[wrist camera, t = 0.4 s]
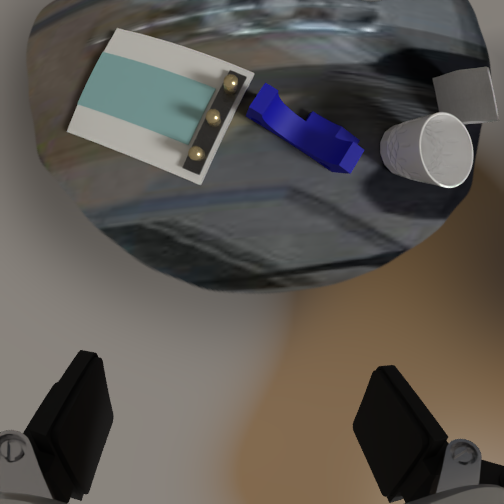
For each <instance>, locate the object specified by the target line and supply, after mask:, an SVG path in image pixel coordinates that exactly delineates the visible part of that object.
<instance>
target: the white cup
mask: <svg viewBox="0 0 504 504" xmlns="http://www.w3.org/2000/svg"><path fill="white" fill-rule="evenodd" d="M380 154H381V157H382V160H383V162H384V165H385V166H386V167H387V168H388V169H389V170H390V171H391V172H392V173H394V174H396V175H399V176H402V177H406V178H409V179H412V180H416V181H420V182H424V183H429V184H433V185H438V186H442V187H446V188H453V187H456V186H458V185H460V184H461V183H463V182H464V181H465V179H466V178H467V177H468V175H469V173H470V170H471V167H472V163H473V146H472V141H471V138H470V135H469V133H468V131H467V129H466V128H465V126H464V125H463V123H462V122H461V121H460V120H459V119H458V118H456V117H455V116H453V115H452V114H449V113H446V112H438V113H434V114H431V115H427V116H423V117H419V118H415V119H412V120H409V121H406V122H403V123H401V124H398V125H394V126H392V127H391V128H389V129H388V130H387V131H385V133H384V135H383V137H382V139H381V141H380Z"/></svg>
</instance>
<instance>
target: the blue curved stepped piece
mask: <svg viewBox="0 0 504 504" xmlns="http://www.w3.org/2000/svg"><path fill="white" fill-rule="evenodd" d="M246 117H248V118H249V119H251V120H253V121H254V122H256V123H258V124H259V125H261V126H263V127H264V128H266V129H268V130H269V131H271V132H272V133H274V134H276V135H277V136H279V137H280V138H282V139H284V140H285V141H287V142H288V143H290V144H291V145H293V146H294V147H296V148H298V149H299V150H301V151H302V152H304V153H305V154H307V155H308V156H310V157H311V158H313V159H314V160H316V161H317V162H318V163H320V164H321V165H323V166H324V167H326V168H327V169H329V170H330V171H331V172H338V173H349V174H350V173H351V172H352V170H353V168H354V167H355V165H356V163H357V162H358V160H359V158H360V157H361V155H362V153H363V152H364V149H363V148H361V147H360V146H359V145H357V144H358V143H359V141H360V140H359V139H357V138H356V137H355V136H354V135H352V134H351V133H350V132H348V131H347V130H345V129H344V128H343V127H341V126H339V125H337V124H334V123H332V122H330V121H328V120H327V119H325V118H323V117H321V116H320V115H318V114H316V113H315V112H313V111H312V112H311V113H310V114H309V115H308V117H307V118H306V120H303V119H302V118H300V117H299V116H298V115H296V114H295V113H294V112H293V111H291V110H290V109H289V108H288V107H287V106H286V105H285V104H284V103H283V102H282V101H281V99H280V98H279V95H278V90H277V89H275V88H273V87H272V86H270V85H268V84H267V83H265V84H264V86H263V87H262V88H261V90H260V91H259V93H258V94H257V96H256V97H255V99H254V100H253V102H252V103H251V105H250V106H249V108H248V111H247V114H246Z"/></svg>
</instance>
